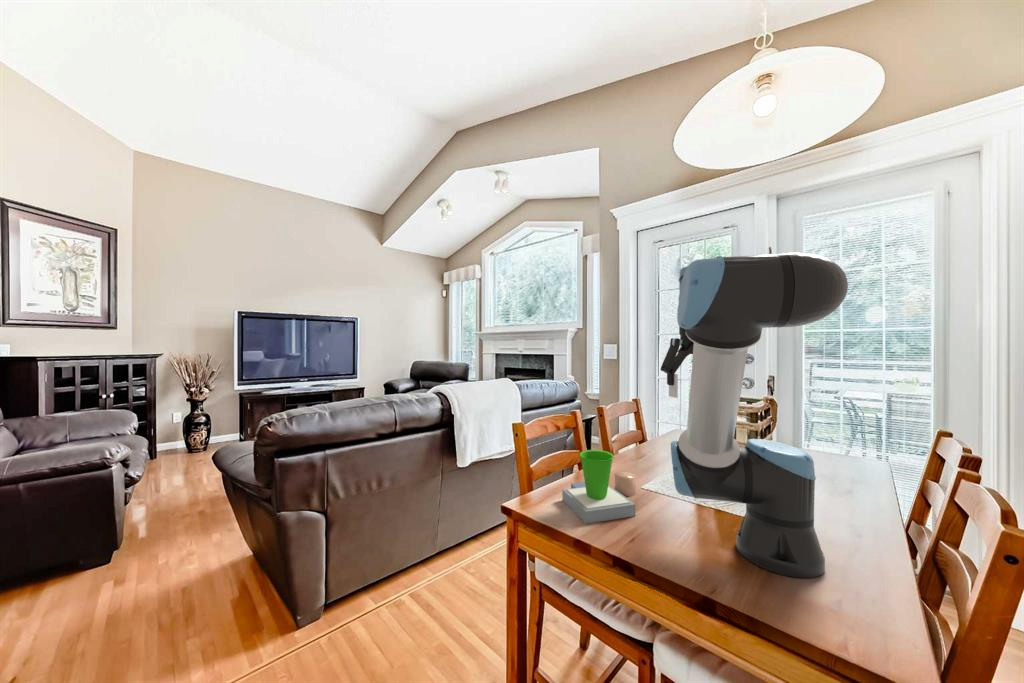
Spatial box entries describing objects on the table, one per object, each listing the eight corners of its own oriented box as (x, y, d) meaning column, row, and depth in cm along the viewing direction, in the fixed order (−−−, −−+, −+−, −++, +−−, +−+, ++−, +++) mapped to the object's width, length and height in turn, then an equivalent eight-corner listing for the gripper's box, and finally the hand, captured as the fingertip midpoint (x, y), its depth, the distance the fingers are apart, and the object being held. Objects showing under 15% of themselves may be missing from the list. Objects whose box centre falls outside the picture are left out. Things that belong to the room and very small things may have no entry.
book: (608, 495, 112) (608, 487, 112) (580, 499, 109) (580, 491, 109) (597, 487, 118) (597, 480, 118) (570, 491, 115) (570, 483, 115)
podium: (635, 515, 98) (635, 503, 98) (585, 523, 94) (585, 510, 94) (606, 494, 112) (606, 483, 112) (562, 500, 108) (562, 488, 108)
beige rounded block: (640, 494, 111) (640, 477, 111) (621, 497, 110) (621, 480, 110) (628, 487, 117) (628, 470, 117) (610, 489, 116) (610, 472, 115)
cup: (609, 489, 107) (609, 449, 107) (617, 503, 98) (617, 460, 98) (577, 488, 108) (577, 449, 107) (582, 503, 99) (582, 460, 98)
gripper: (718, 322, 117) (717, 391, 117) (647, 321, 110) (647, 395, 110) (739, 321, 110) (738, 395, 110) (665, 320, 103) (664, 400, 103)
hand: (693, 395), depth 110 cm, fingers open, 13 cm apart
